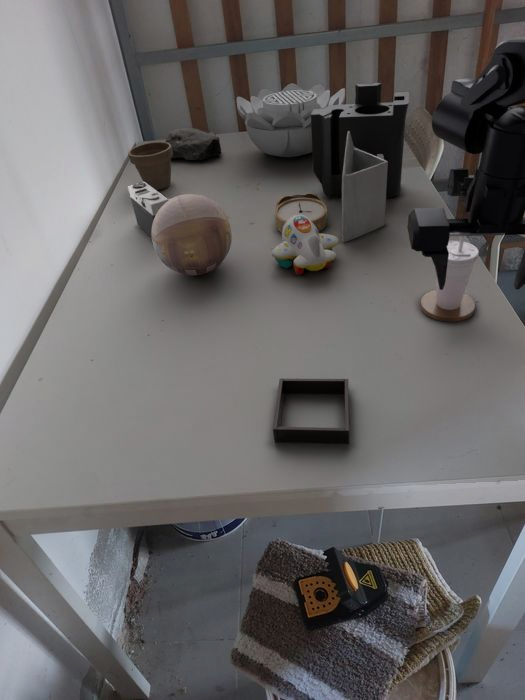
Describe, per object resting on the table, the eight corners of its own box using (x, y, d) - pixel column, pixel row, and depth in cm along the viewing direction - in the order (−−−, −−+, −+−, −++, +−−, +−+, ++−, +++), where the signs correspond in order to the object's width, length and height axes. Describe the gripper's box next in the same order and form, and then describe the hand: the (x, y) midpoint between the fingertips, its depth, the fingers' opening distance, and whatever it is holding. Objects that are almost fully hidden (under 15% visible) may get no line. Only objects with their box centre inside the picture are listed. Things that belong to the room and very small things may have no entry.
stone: (156, 157, 151) (157, 122, 150) (166, 165, 159) (167, 131, 158) (216, 158, 148) (218, 122, 147) (223, 166, 157) (225, 132, 156)
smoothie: (452, 319, 81) (465, 238, 72) (419, 303, 85) (428, 224, 76) (477, 303, 83) (493, 222, 75) (444, 288, 88) (455, 210, 79)
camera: (193, 235, 114) (184, 191, 108) (159, 247, 112) (148, 203, 105) (168, 215, 124) (159, 174, 118) (136, 225, 121) (125, 184, 115)
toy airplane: (284, 248, 88) (258, 211, 99) (285, 290, 94) (261, 250, 105) (355, 232, 91) (322, 197, 102) (352, 274, 97) (321, 236, 108)
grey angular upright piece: (381, 243, 103) (386, 144, 91) (341, 242, 105) (341, 145, 93) (386, 208, 115) (391, 117, 103) (351, 208, 117) (351, 118, 105)
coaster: (469, 292, 87) (469, 288, 87) (479, 321, 81) (480, 317, 81) (417, 293, 89) (418, 289, 88) (423, 322, 82) (424, 318, 82)
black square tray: (348, 392, 72) (348, 378, 70) (349, 444, 65) (349, 430, 63) (280, 391, 73) (279, 378, 72) (274, 442, 66) (272, 429, 64)
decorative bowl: (363, 158, 141) (365, 99, 131) (257, 178, 137) (251, 118, 128) (327, 129, 164) (326, 76, 154) (236, 145, 160) (229, 92, 151)
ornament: (248, 255, 105) (239, 183, 96) (216, 295, 94) (202, 218, 85) (184, 248, 110) (169, 179, 101) (146, 285, 100) (126, 212, 90)
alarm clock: (276, 227, 107) (271, 187, 117) (278, 246, 111) (273, 206, 121) (330, 221, 107) (321, 181, 116) (330, 240, 110) (321, 200, 120)
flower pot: (130, 187, 141) (120, 149, 135) (166, 174, 146) (158, 138, 140) (149, 198, 134) (139, 159, 127) (186, 184, 138) (179, 146, 132)
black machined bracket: (401, 199, 118) (409, 95, 104) (312, 199, 123) (308, 100, 109) (402, 179, 127) (410, 81, 113) (319, 180, 132) (316, 86, 118)
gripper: (574, 137, 60) (537, 253, 71) (409, 143, 63) (397, 254, 73) (612, 177, 52) (563, 302, 62) (421, 183, 54) (405, 302, 65)
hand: (478, 287), depth 66 cm, fingers open, 9 cm apart
